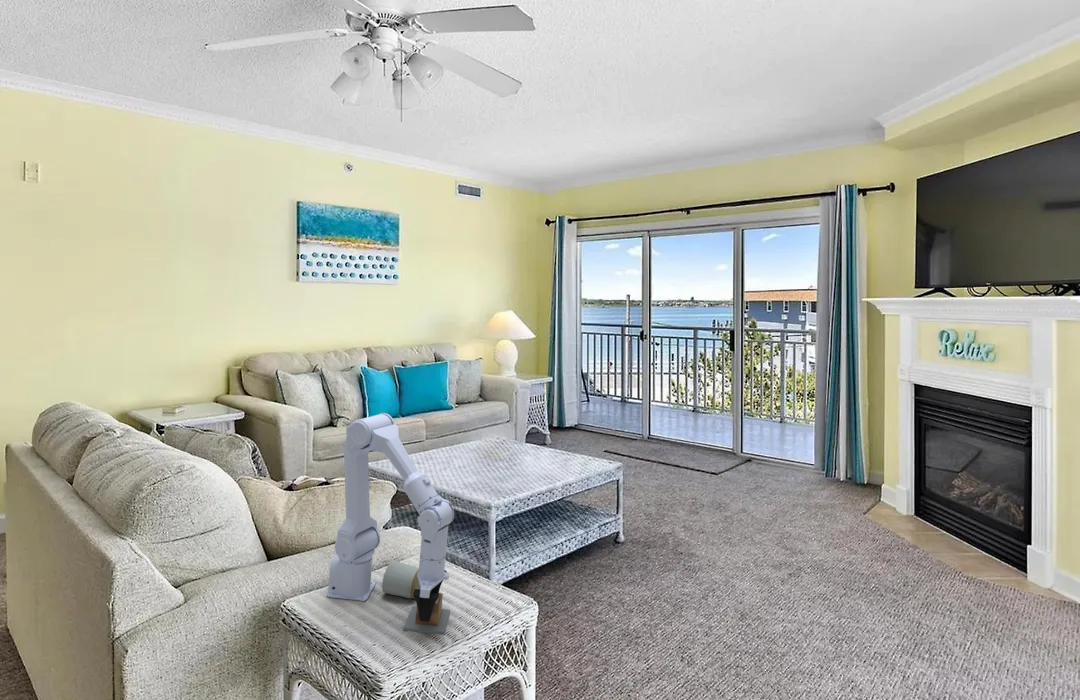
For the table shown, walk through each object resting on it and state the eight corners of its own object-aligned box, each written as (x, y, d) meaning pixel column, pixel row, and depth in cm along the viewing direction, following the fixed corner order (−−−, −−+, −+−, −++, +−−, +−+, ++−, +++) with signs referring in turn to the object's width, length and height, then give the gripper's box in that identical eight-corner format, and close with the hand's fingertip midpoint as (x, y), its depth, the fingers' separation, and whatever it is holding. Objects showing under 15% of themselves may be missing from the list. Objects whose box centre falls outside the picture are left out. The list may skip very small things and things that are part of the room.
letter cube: (415, 623, 140) (417, 601, 139) (419, 611, 145) (421, 589, 144) (437, 625, 140) (439, 603, 139) (441, 613, 145) (443, 592, 144)
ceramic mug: (412, 605, 148) (415, 574, 147) (380, 598, 150) (382, 568, 149) (428, 584, 159) (430, 555, 158) (397, 578, 160) (400, 550, 159)
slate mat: (403, 630, 138) (403, 627, 138) (412, 608, 147) (412, 605, 147) (443, 634, 138) (443, 631, 138) (450, 612, 147) (450, 609, 147)
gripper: (445, 572, 133) (439, 631, 135) (455, 542, 148) (450, 596, 149) (412, 568, 133) (407, 627, 135) (425, 539, 148) (421, 593, 149)
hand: (428, 611), depth 142 cm, fingers open, 7 cm apart
